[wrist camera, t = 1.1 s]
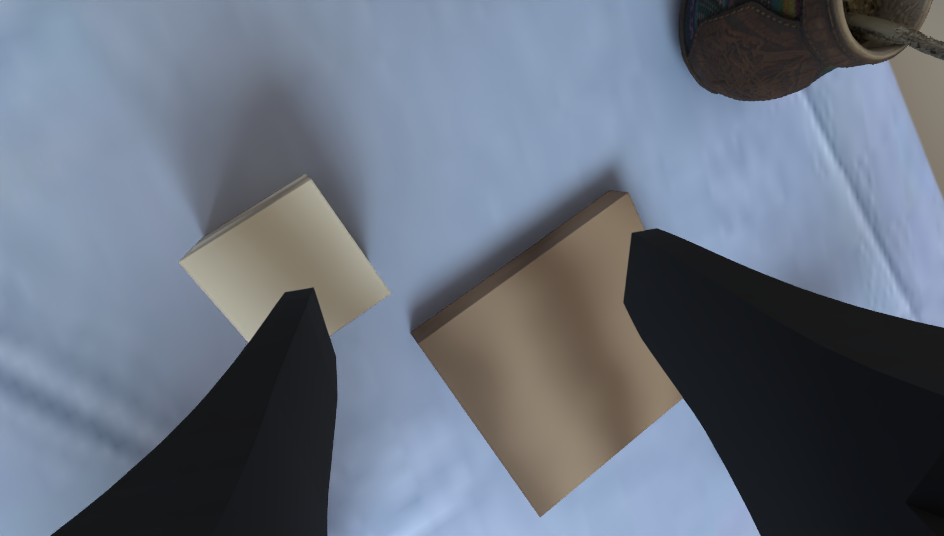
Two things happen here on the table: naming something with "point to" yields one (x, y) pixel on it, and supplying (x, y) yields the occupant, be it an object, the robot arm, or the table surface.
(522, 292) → the light brown wooden block
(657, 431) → the table surface
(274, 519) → the robot arm
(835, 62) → the mate gourd
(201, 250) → the maple cube
